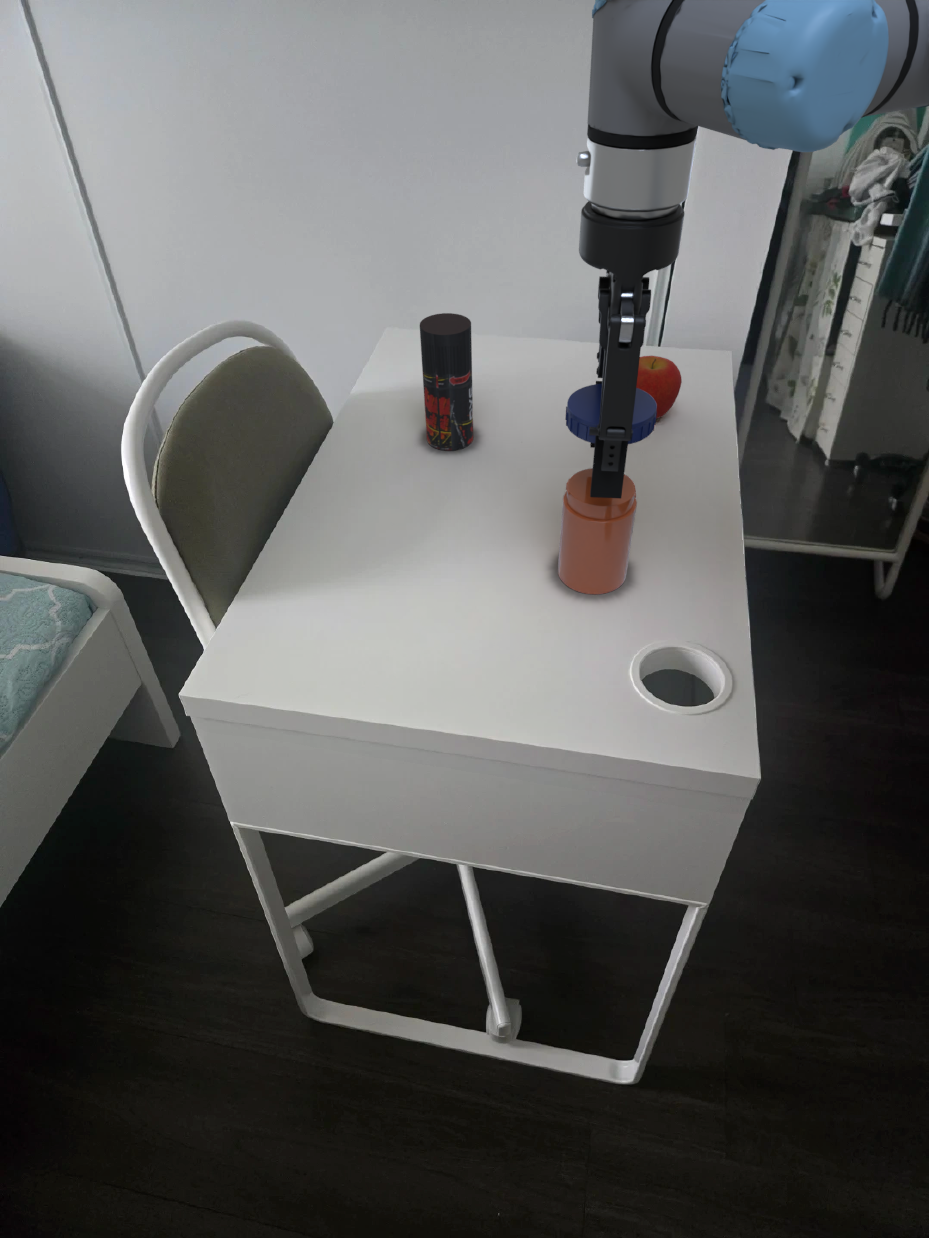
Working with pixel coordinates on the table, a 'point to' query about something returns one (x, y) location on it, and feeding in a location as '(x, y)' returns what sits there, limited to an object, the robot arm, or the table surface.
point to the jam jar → (595, 536)
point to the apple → (659, 381)
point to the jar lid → (587, 413)
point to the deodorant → (447, 380)
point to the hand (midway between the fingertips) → (605, 469)
